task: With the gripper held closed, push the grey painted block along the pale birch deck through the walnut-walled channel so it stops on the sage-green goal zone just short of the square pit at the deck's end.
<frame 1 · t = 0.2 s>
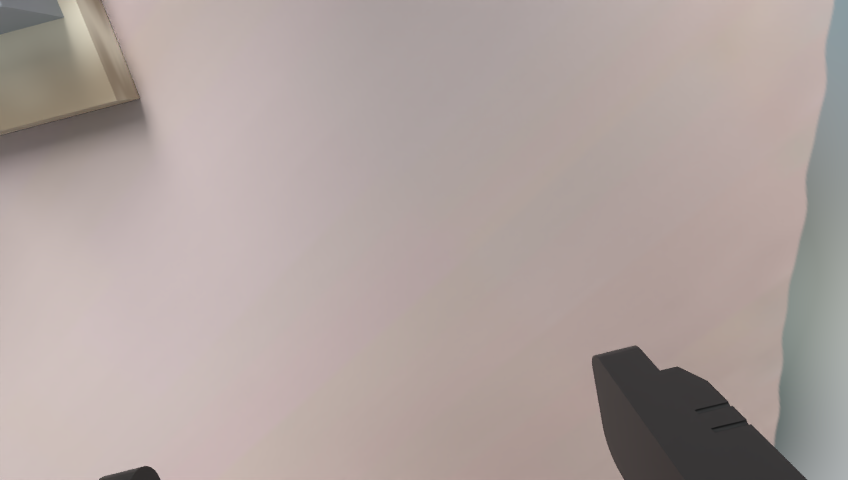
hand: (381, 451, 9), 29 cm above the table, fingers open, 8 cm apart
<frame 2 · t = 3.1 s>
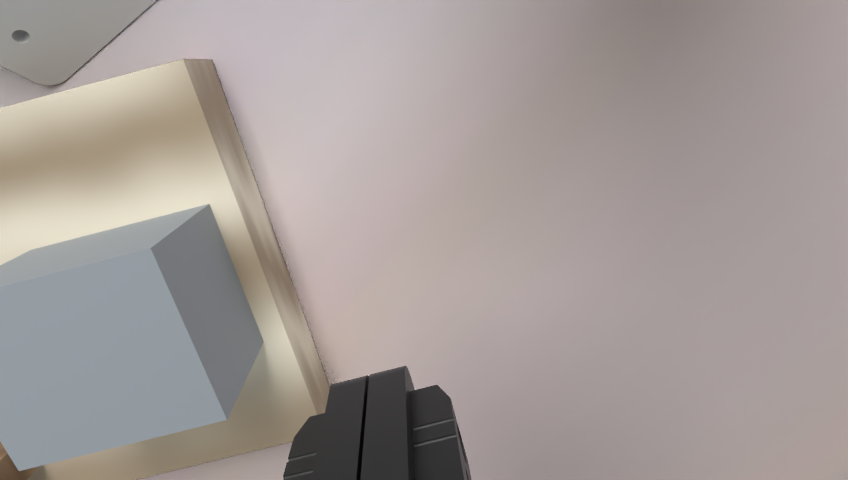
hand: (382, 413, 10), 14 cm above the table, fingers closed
grey block: (152, 297, 21), point 3 cm above the table, touching tunnel deck
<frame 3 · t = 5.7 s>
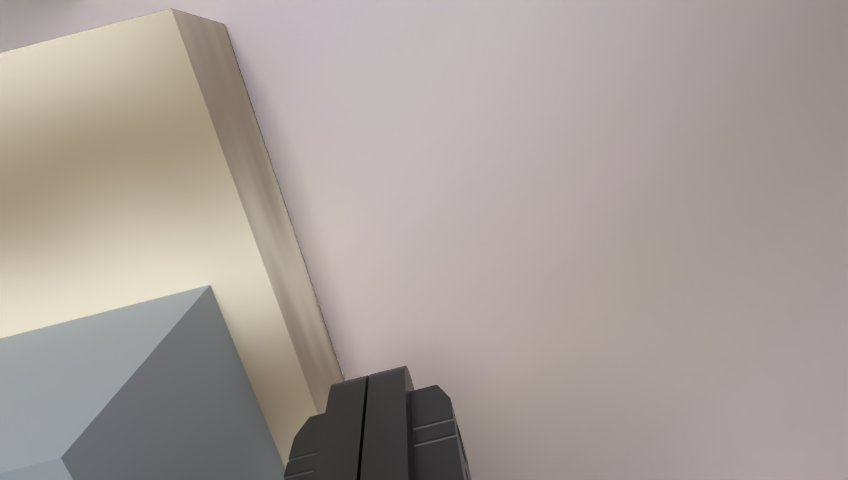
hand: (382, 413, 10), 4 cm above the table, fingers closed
grey block: (106, 446, 12), point 3 cm above the table, touching gripper, tunnel deck
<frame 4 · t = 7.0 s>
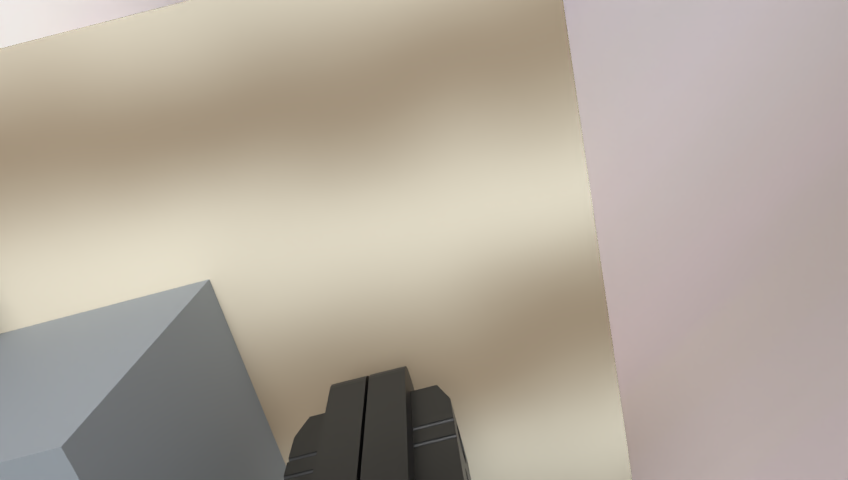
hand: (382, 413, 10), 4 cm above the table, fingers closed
grey block: (106, 442, 12), point 3 cm above the table, touching gripper
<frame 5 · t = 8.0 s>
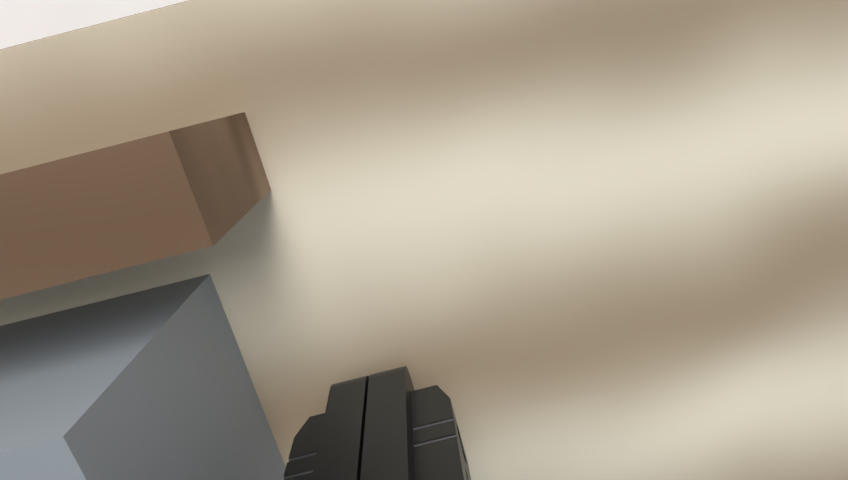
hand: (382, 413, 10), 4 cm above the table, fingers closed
grey block: (103, 436, 12), point 3 cm above the table, touching gripper
tunnel deck: (153, 373, 14), on the table
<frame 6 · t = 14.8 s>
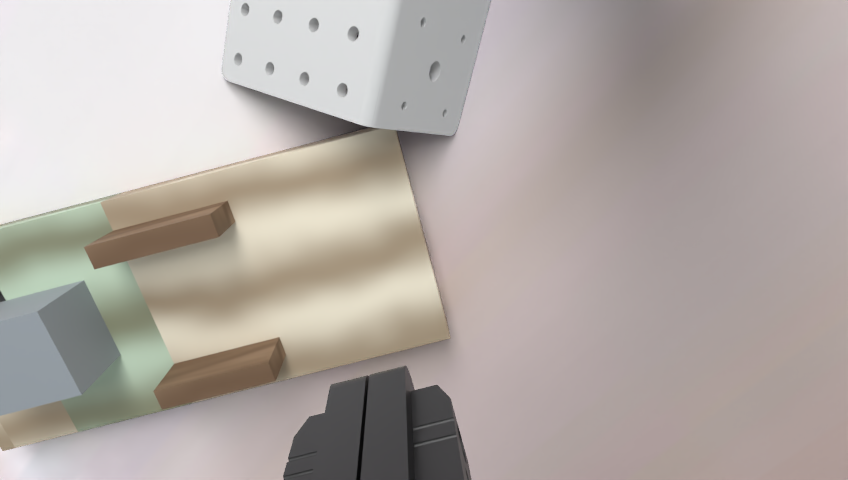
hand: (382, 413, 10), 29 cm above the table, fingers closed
grey block: (55, 330, 37), point 3 cm above the table, touching tunnel deck
tunnel deck: (198, 284, 40), on the table
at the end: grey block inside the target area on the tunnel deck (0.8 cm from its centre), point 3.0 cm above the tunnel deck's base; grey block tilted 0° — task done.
